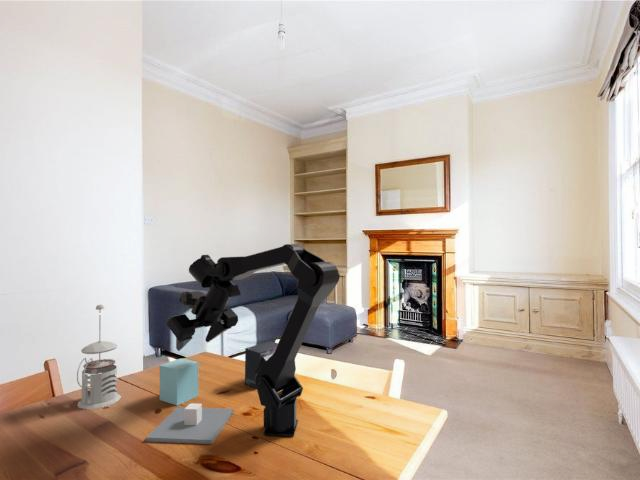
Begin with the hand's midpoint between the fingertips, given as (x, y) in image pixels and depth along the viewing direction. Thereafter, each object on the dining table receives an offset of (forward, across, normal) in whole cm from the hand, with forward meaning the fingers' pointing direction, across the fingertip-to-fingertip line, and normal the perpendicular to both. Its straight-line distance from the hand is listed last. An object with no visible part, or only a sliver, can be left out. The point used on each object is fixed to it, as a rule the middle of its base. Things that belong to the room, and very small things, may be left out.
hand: (192, 345), depth 95 cm
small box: (+7, -19, +15) cm, 25 cm away
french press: (+23, +14, -8) cm, 28 cm away
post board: (+5, +9, +18) cm, 21 cm away
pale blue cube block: (+14, +2, +5) cm, 15 cm away
